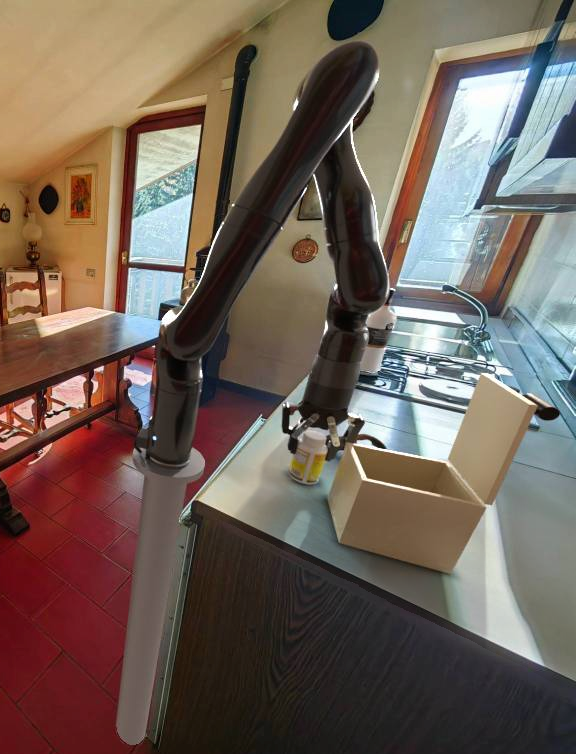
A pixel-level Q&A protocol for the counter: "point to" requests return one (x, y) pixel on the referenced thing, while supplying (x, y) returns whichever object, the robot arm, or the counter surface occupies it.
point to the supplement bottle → (308, 458)
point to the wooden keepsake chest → (403, 506)
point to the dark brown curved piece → (374, 440)
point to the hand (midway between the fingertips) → (308, 455)
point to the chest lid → (494, 434)
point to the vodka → (378, 336)
